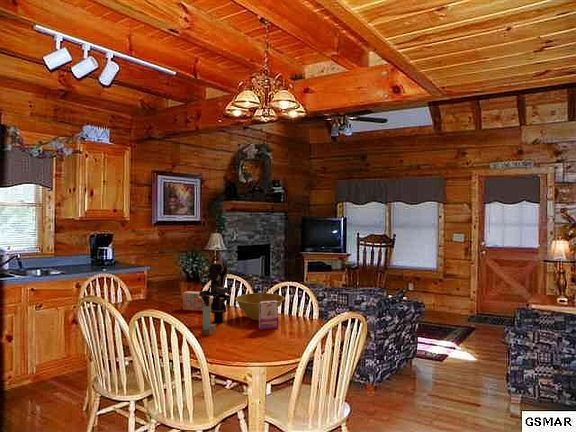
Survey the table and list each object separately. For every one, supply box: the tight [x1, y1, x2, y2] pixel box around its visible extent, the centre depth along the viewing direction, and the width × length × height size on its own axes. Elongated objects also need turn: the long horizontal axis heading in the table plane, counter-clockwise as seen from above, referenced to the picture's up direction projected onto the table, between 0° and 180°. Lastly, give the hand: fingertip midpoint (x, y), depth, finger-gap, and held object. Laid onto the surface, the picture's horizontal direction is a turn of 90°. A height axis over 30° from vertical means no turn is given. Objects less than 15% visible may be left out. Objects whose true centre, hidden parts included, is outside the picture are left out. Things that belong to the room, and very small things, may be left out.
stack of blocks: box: [182, 290, 214, 312], centre depth 324 cm, size 21×6×12 cm, turn 73°
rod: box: [202, 306, 211, 330], centre depth 263 cm, size 4×4×13 cm
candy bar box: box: [258, 300, 279, 331], centre depth 276 cm, size 11×5×16 cm, turn 105°
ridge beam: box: [200, 323, 218, 337], centre depth 268 cm, size 14×5×3 cm, turn 172°
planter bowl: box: [234, 292, 285, 321], centre depth 301 cm, size 32×32×13 cm
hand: (214, 309), depth 272 cm, fingers open, 9 cm apart
